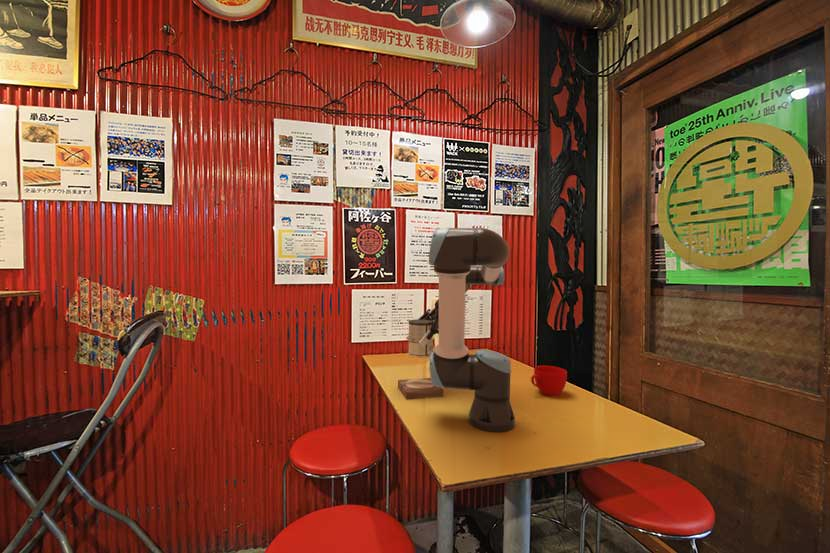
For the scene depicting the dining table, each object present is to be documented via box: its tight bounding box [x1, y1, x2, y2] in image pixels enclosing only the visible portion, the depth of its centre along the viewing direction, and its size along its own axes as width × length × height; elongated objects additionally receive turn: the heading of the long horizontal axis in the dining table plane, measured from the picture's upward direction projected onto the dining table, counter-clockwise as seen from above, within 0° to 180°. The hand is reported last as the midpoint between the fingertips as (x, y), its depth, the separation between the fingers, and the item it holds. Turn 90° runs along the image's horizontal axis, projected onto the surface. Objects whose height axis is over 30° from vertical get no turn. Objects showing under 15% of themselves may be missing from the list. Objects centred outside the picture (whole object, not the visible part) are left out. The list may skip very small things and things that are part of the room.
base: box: [397, 377, 444, 400], centre depth 147 cm, size 15×15×3 cm
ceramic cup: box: [530, 365, 568, 397], centre depth 148 cm, size 13×17×10 cm
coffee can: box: [407, 318, 434, 359], centre depth 147 cm, size 10×10×14 cm
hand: (414, 342), depth 146 cm, fingers closed on coffee can, 10 cm apart
